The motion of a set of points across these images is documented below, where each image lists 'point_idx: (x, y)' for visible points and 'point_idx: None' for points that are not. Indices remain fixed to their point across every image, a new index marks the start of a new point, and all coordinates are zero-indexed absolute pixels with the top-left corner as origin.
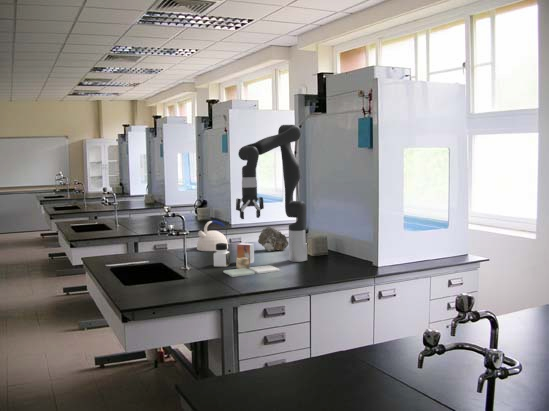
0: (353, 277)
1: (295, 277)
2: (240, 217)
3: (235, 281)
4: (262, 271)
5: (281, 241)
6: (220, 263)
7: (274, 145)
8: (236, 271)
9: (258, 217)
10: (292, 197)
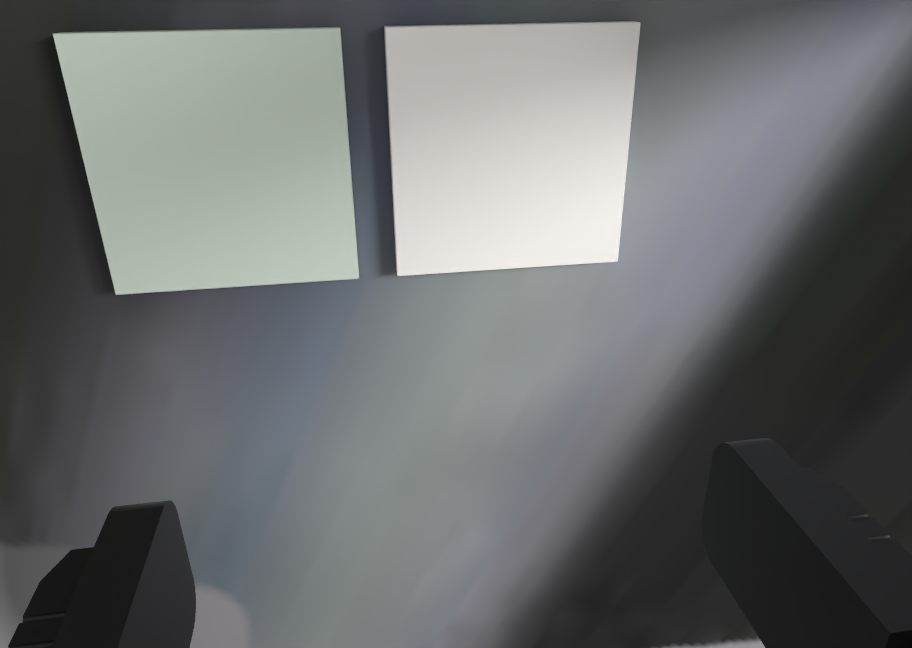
0: None
1: (586, 494)
2: (67, 581)
3: (115, 448)
4: (439, 272)
5: None
6: None
7: None
8: (193, 161)
9: (715, 548)
10: None
